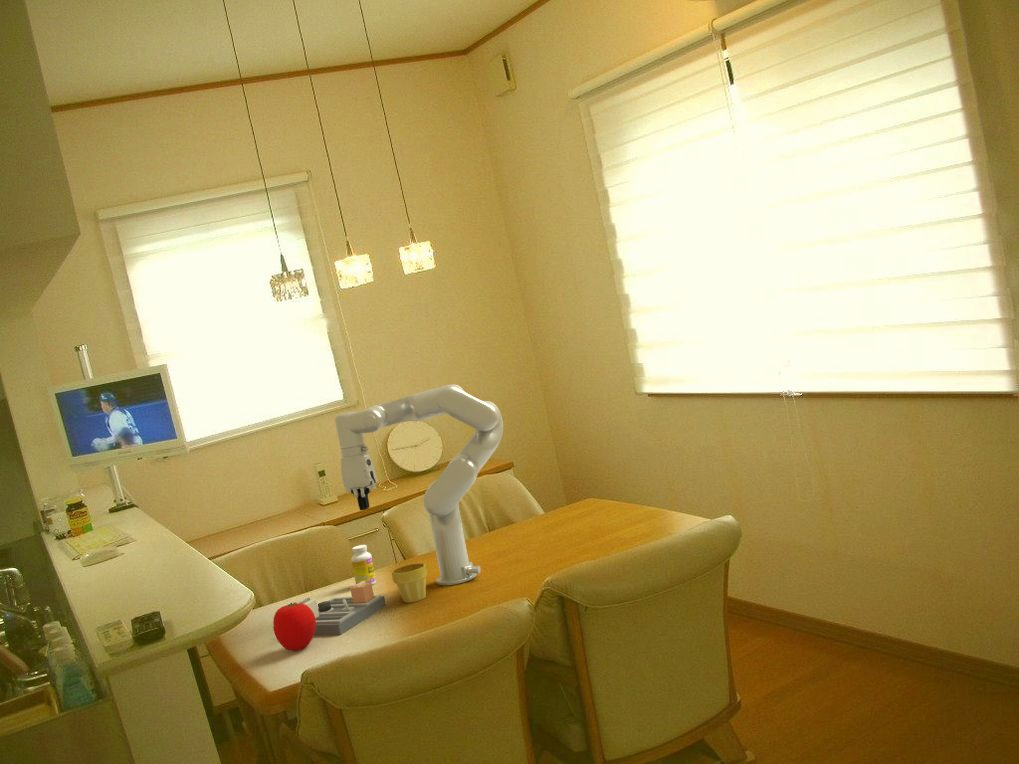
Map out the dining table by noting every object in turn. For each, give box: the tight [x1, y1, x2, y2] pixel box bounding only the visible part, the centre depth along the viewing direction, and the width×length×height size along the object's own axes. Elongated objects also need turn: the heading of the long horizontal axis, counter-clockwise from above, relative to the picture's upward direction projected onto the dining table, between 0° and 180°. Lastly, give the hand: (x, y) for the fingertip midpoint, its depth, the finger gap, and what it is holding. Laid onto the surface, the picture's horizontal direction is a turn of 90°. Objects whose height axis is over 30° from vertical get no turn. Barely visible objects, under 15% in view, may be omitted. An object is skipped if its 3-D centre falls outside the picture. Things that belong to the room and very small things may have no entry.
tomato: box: [272, 602, 316, 652], centre depth 275 cm, size 11×11×13 cm
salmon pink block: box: [350, 581, 375, 604], centre depth 300 cm, size 4×4×6 cm
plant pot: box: [391, 562, 428, 603], centre depth 304 cm, size 10×10×10 cm
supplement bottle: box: [350, 544, 377, 586], centre depth 333 cm, size 7×7×13 cm
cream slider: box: [298, 597, 319, 618], centre depth 292 cm, size 4×4×6 cm
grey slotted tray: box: [313, 594, 387, 637], centre depth 296 cm, size 18×24×7 cm
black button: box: [317, 600, 331, 612], centre depth 298 cm, size 4×4×2 cm
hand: (364, 509), depth 317 cm, fingers closed
